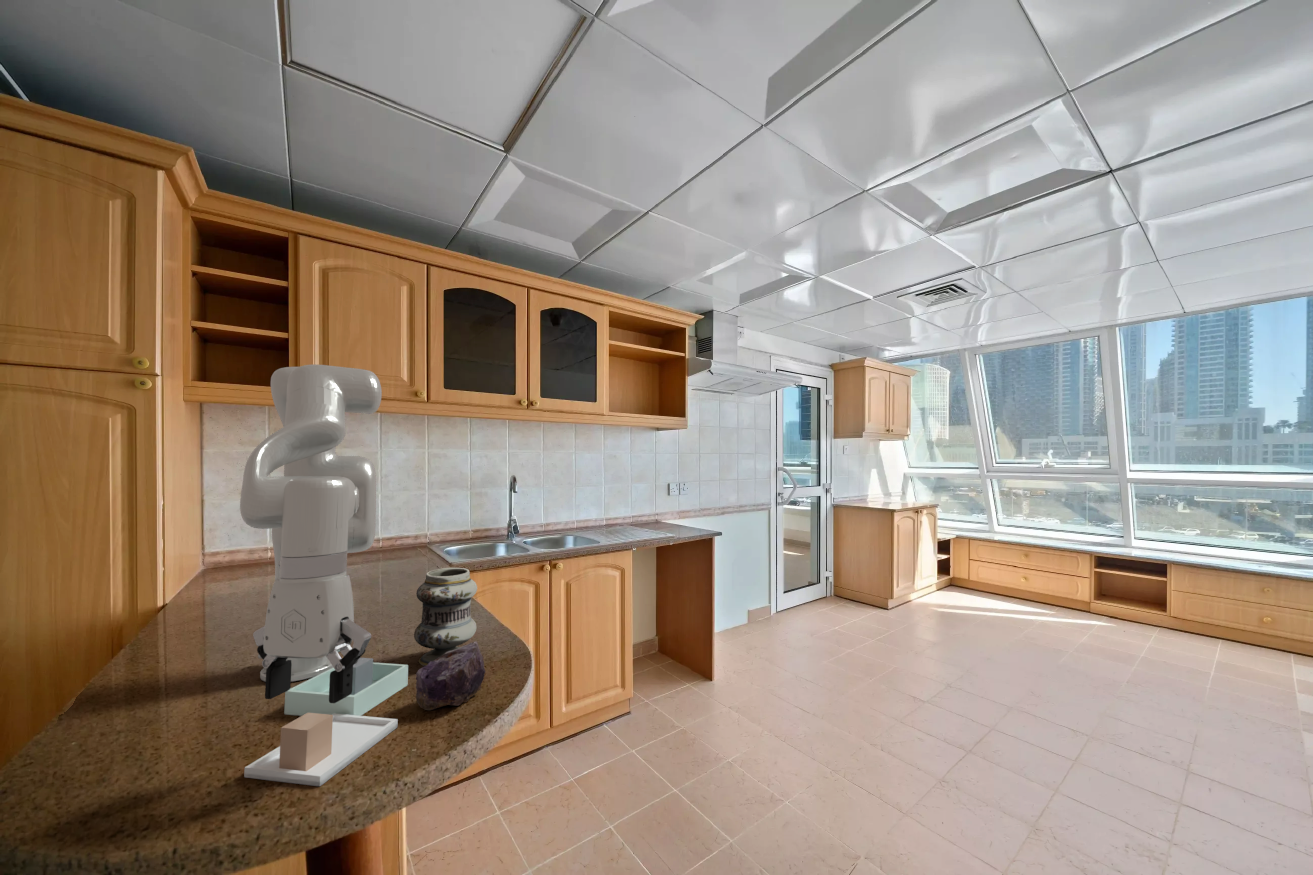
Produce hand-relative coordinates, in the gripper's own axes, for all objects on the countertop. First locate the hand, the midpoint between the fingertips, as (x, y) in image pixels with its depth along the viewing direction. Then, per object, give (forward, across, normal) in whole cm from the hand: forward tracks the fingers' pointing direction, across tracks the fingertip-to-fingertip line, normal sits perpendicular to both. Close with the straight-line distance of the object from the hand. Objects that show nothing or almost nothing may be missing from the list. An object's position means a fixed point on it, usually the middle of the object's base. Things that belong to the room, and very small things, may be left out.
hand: (308, 696), depth 65 cm
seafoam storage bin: (+9, -10, +18) cm, 22 cm away
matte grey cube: (+8, -10, +19) cm, 23 cm away
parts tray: (+9, -1, +4) cm, 10 cm away
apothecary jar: (+9, -4, +37) cm, 38 cm away
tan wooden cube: (+9, -1, +1) cm, 9 cm away
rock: (+9, +9, +21) cm, 24 cm away
